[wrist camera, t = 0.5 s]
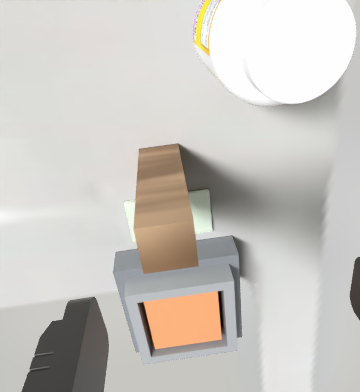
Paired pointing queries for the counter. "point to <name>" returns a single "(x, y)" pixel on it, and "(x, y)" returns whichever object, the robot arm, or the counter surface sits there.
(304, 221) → the counter surface
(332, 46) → the supplement bottle
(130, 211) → the sage mat
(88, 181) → the counter surface
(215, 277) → the grey open square box
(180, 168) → the walnut block
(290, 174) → the counter surface
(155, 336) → the button
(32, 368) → the robot arm
